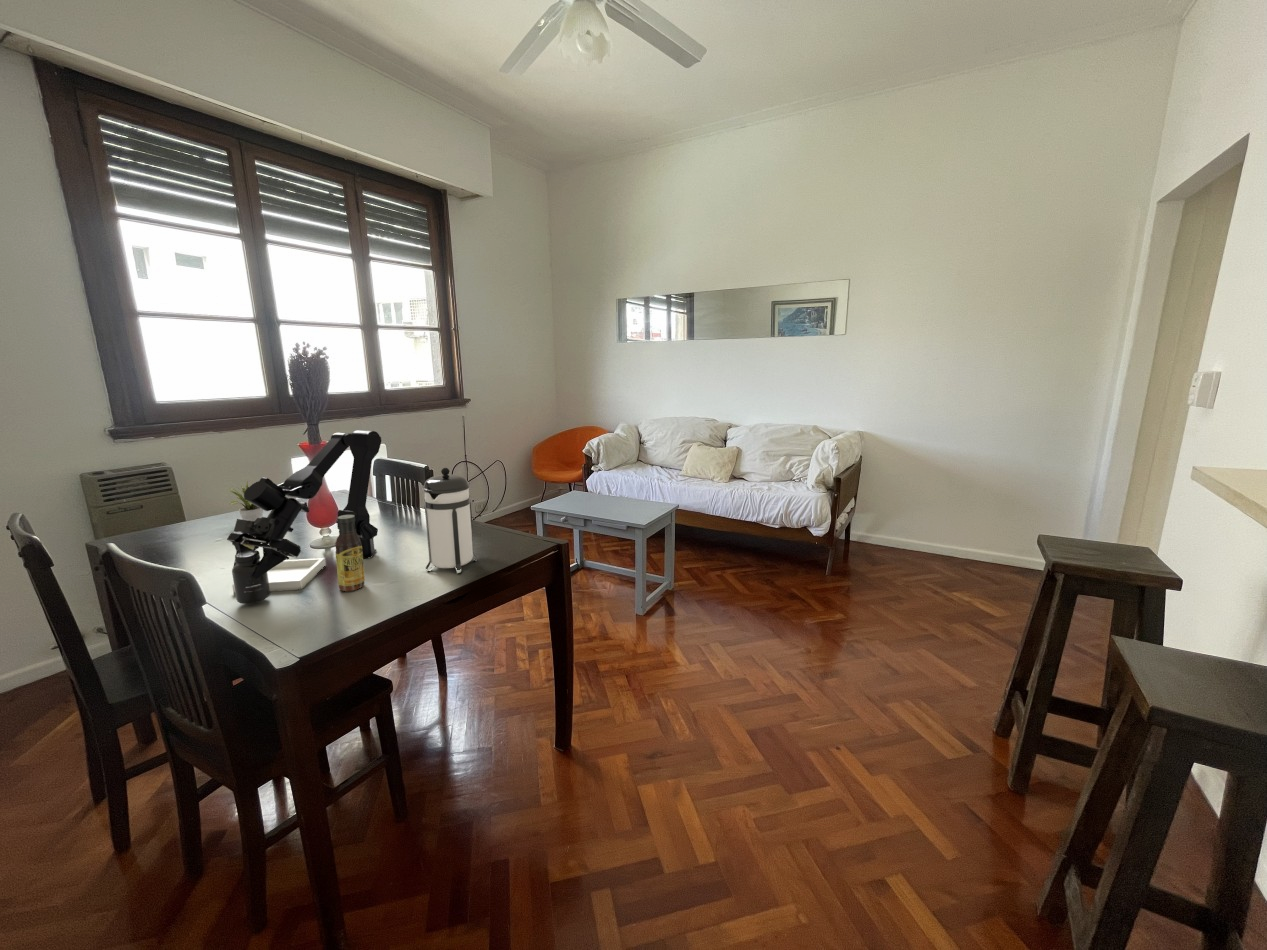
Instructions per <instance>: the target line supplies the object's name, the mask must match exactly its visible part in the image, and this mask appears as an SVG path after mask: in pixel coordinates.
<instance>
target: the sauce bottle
mask: <svg viewBox="0 0 1267 950" xmlns="http://www.w3.org/2000/svg"><path fill="white" fill-rule="evenodd" d="M336 521H337V522H338V523H337V524H339V529H338V535H337V538H336V539H335V543H334V545H335V560H336V561H335V562H336V572H337V584H338V589H339V591H342V592H344V591H345V592H353V590H354V591H358V590H360V589H362V588H364V586H365V581H366V578H365V566H364V558H363V552H362V544H361V541H360V538H359V536H358V535H357V533H356V529H355V516H354V515H342V516H339V517H338V516H337V518H336ZM361 587H362V588H361ZM359 588H360V589H359ZM357 589H358V590H357Z"/></svg>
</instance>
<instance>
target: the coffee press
mask: <svg viewBox="0 0 1267 950" xmlns="http://www.w3.org/2000/svg"><path fill="white" fill-rule="evenodd" d="M450 472H451V471H450V469H449V467H443V468H441V471H440V473H441V474H440V475H439V474H438V475H435V476H434V475H433V476H432V477H429V478H428V479H426V480H425V482H424V483H423V484H424V485H423V486H422V487H421V488H422V491H423V493H424V499H423V502H424V503H423V504H424V513H425V514H424V515H425V524H426V525H425V526H426V536H427V548H428V559H429V560H428V563H427V565H426V566H425V570H426V569H427V570H429V567H430V565H432V566H435V568H440V569H455V567H456V568H457V570H460V569H462V566H466V565H467V564H468V563H470V562H471V561H472V560H473V557H475V558H476V557H477V556H476V555H475V554H474V553H475V552H474V541H473V540H474V539H473V515H472V503H471V495H470V490H469V489H470V487H471V485H470V483H469V481H468V480H467V478H465V476H462V475H459V474H450ZM462 570H463V569H462Z"/></svg>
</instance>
